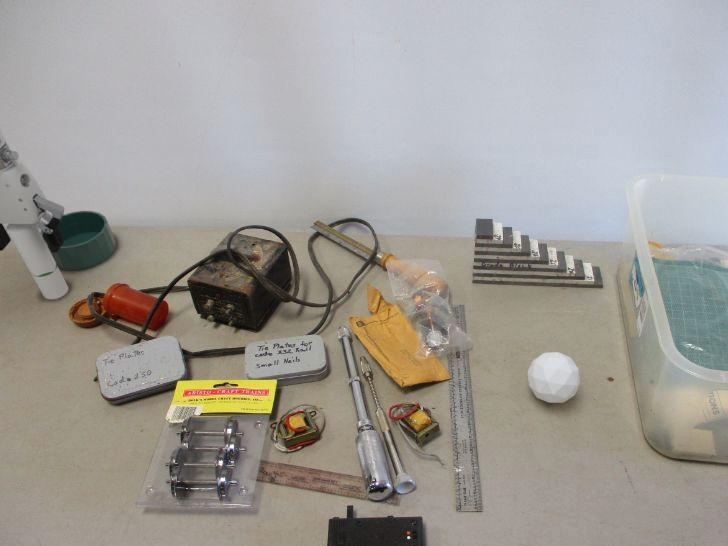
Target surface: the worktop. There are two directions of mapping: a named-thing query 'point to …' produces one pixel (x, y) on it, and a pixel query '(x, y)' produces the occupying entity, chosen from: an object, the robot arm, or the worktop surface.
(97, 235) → the bowl
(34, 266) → the tube
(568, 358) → the ball
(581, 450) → the worktop surface
